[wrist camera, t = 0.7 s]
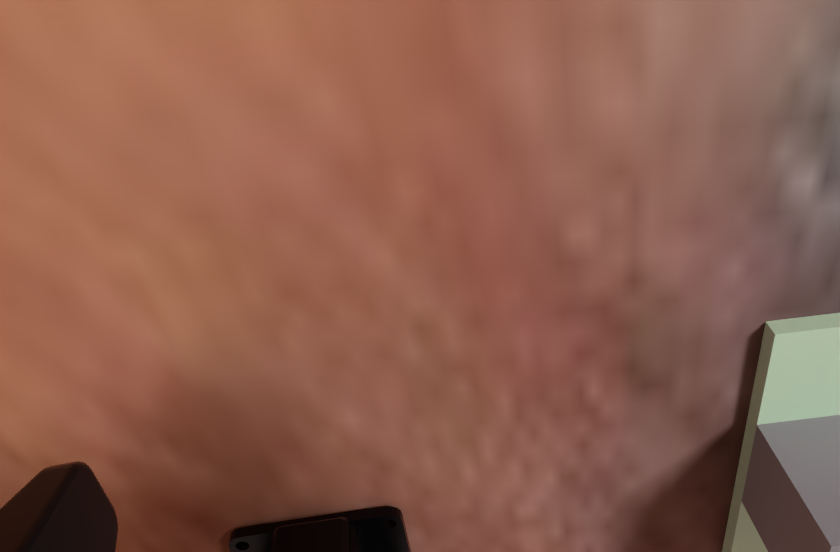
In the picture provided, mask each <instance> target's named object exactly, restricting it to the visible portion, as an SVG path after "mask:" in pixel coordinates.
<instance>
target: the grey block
mask: <svg viewBox="0 0 840 552" xmlns="http://www.w3.org/2000/svg"><path fill="white" fill-rule="evenodd" d="M722 552H840V313H833V314H825V315H817V316H809V317H800V318H792V319H784V320H776V321H767V322H766V323H765V328H764V333H763V338H762V344H761V349H760V354H759V359H758V365H757V370H756V375H755V380H754V386H753V391H752V396H751V401H750V407H749V412H748V417H747V422H746V427H745V433H744V438H743V443H742V448H741V454H740V459H739V464H738V469H737V475H736V480H735V485H734V490H733V496H732V501H731V506H730V511H729V517H728V522H727V527H726V532H725V538H724V543H723V548H722Z"/></svg>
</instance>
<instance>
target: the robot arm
mask: <svg viewBox="0 0 840 552" xmlns="http://www.w3.org/2000/svg"><path fill="white" fill-rule="evenodd" d="M117 531H118V523H117V516H116V513H115V510H114V508H113V506H112V504H111V502H110V501H109V499H108V497H107V495H106V494H105V492H104V490H103V489H102V487H101V485H100V483H99V482H98V480H97V478H96V477H95V475H94V473H93V471H92V470H91V468H90V467H89V466H88V465H87V464H85V463H83V462H71V463H66V464H60V465H55V466H50V467H47V468H45V469H43V470H42V471H41V472H39V473H38V474H37V475H36V476H35V477H34V478H33V479H32V480H31V481H30V482H29V483H28V484H27V485H25V486H24V487H23V488H22V489H21V490H20V491H19V492H18V493H17V494H16V495H15V496H14V497H13V498H12V499H11V500H9V501H8V502H7V503H6V504H5V505H4V506H3V507H2V508H1V509H0V552H115V549H116V541H117ZM229 549H230V551H231V552H411V550H410V545H409V541H408V537H407V532H406V528H405V524H404V520H403V515H402V512H401V511H400V510H399V509H398V508H395V507H381V508H375V509H368V510H361V511H354V512H348V513H341V514H334V515H327V516H321V517H314V518H307V519H300V520H294V521H287V522H280V523H273V524H267V525H260V526H253V527H246V528H240V529H237V530H235V531H233V532H232V533H231V535H230V540H229Z"/></svg>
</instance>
